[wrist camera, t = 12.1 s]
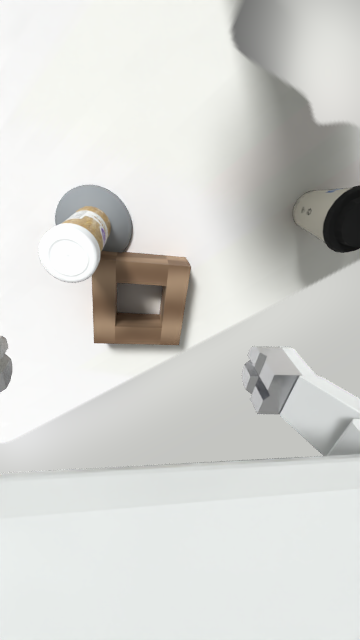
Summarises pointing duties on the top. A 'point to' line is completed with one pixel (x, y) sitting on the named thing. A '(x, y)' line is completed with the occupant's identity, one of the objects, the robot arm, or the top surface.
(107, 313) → the holder block
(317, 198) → the coffee cup
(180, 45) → the top surface
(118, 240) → the coaster
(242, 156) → the top surface
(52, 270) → the sprinkles bottle
